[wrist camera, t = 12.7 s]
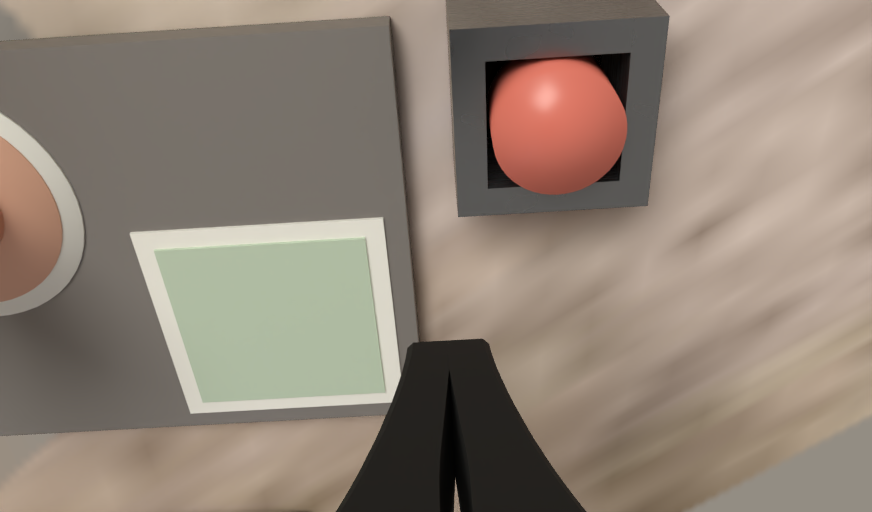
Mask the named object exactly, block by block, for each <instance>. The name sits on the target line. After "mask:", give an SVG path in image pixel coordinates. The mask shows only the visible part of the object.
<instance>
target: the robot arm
mask: <svg viewBox="0 0 872 512" xmlns="http://www.w3.org/2000/svg"><path fill="white" fill-rule="evenodd" d="M455 478H456V484H457V491H458V497H459V504H460V511H461V512H586V511H585V510H584V508H583V507H582V506H581V505H580V503H579V502H578V501H577V499H576V498H575V497H574V496H573V494H572V493H571V492H570V490H569V489H568V488H567V486H566V485H565V484H564V482H563V481H562V480H561V478H560V477H559V476H558V474H557V473H556V471H555V470H554V468H553V467H552V466H551V464H550V463H549V461H548V460H547V458H546V457H545V455H544V453H543V452H542V450H541V449H540V447H539V446H538V444H537V443H536V441H535V440H534V438H533V436H532V435H531V433H530V431H529V430H528V428H527V426H526V424H525V423H524V421H523V419H522V417H521V416H520V414H519V412H518V410H517V409H516V407H515V405H514V403H513V401H512V399H511V397H510V395H509V393H508V391H507V389H506V387H505V385H504V383H503V381H502V379H501V376H500V374H499V372H498V369H497V367H496V364H495V362H494V359H493V356H492V353H491V350H490V346H489V343H487V342H486V341H485V340H484V339H469V340H451V341H432V342H413V343H412V344H411V345H410V346H409V347H408V348H407V353H406V359H405V363H404V367H403V370H402V374H401V377H400V380H399V383H398V386H397V389H396V392H395V395H394V397H393V400H392V403H391V405H390V407H389V410H388V412H387V415H386V417H385V419H384V422H383V424H382V427H381V429H380V431H379V433H378V436H377V438H376V440H375V442H374V444H373V446H372V448H371V450H370V452H369V454H368V456H367V458H366V460H365V462H364V464H363V466H362V468H361V470H360V471H359V473H358V475H357V477H356V479H355V481H354V482H353V484H352V486H351V488H350V489H349V491H348V493H347V494H346V496H345V498H344V499H343V501H342V503H341V504H340V506H339V508H338V509H337V511H336V512H454V493H455Z"/></svg>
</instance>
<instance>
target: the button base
mask: <svg viewBox="0 0 872 512" xmlns="http://www.w3.org/2000/svg"><path fill="white" fill-rule="evenodd" d="M446 16H447V36H448V56H449V76H450V96H451V116H452V136H453V156H454V172H455V184H456V196H457V208H458V217H467V216H484V215H501V214H518V213H535V212H551V211H568V210H585V209H602V208H619V207H636V206H648V197H649V188H650V180H651V171H652V162H653V154H654V145H655V136H656V128H657V119H658V110H659V102H660V93H661V84H662V76H663V67H664V58H665V50H666V41H667V32H668V24H669V15H668V14H667V13H666V12H665V10H664V9H663V8H662V7H661V6H660V5H659V4H658V3H657V2H656V0H446ZM599 54H602V64H601V67H602V69H603V70H604V72H605V74H606V76H607V77H608V79H609V81H610V83H611V85H612V86H613V88H614V90H615V92H616V94H617V95H618V97H619V99H620V101H621V103H622V105H623V107H624V110H625V113H626V118H627V136H626V141H625V144H624V148H623V150H622V152H621V154H620V156H619V158H618V160H617V161H616V163H615V164H614V165H613V167H612V168H611V169H610V170H609V171H608V172H607V173H606V174H605V175H604V176H603V177H601V178H600V179H599V180H598V181H596V182H595V183H593V184H591V185H590V186H587V187H585V188H583V189H581V190H578V191H575V192H571V193H567V194H559V195H548V194H540V193H536V192H532V191H530V190H527V189H525V188H523V187H521V186H519V185H518V184H516V183H515V182H513V181H512V180H511V179H510V178H509V177H508V176H507V175H506V174H505V173H504V171H503V170H502V169H501V167H500V165H499V164H498V161H497V159H496V156H495V153H494V148H493V143H492V138H487V129H486V84H485V62H487V61H503V60H519V59H535V58H551V57H567V56H583V55H599Z"/></svg>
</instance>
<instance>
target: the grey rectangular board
mask: <svg viewBox="0 0 872 512" xmlns="http://www.w3.org/2000/svg"><path fill="white" fill-rule="evenodd" d="M0 209H1V212H2V215H3V218H4V235H3V239H2V241H1V243H0V436H9V435H28V434H46V433H65V432H83V431H101V430H119V429H137V428H156V427H174V426H192V425H210V424H229V423H247V422H265V421H283V420H302V419H320V418H338V417H356V416H374V415H387V412H388V410H389V407H390V405H391V403H392V400H393V397H394V395H395V392H396V389H397V386H398V383H399V380H400V377H401V374H402V370H403V367H404V363H405V359H406V353H407V348H408V347H409V346H410V345H411V344H412V343H413V342H420V340H419V329H418V318H417V307H416V296H415V286H414V275H413V264H412V253H411V242H410V231H409V220H408V209H407V199H406V188H405V177H404V166H403V155H402V144H401V133H400V123H399V112H398V101H397V90H396V79H395V68H394V57H393V47H392V36H391V25H390V16H384V17H369V18H353V19H338V20H322V21H306V22H291V23H275V24H259V25H244V26H228V27H212V28H197V29H181V30H165V31H150V32H134V33H119V34H103V35H87V36H72V37H56V38H40V39H25V40H9V41H0Z"/></svg>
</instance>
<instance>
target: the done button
mask: <svg viewBox="0 0 872 512" xmlns="http://www.w3.org/2000/svg"><path fill="white" fill-rule="evenodd" d="M487 115H488V121H489V126H490V132H491V137H492V143H493V148H494V153H495V156H496V159H497V161H498V164H499V165H500V167H501V169H502V170H503V171H504V173H505V174H506V175H507V176H508V177H509V178H510V179H511V180H512V181H513V182H515V183H516V184H518V185H519V186H521V187H523V188H525V189H527V190H530V191H532V192H536V193H540V194H548V195H559V194H567V193H571V192H575V191H578V190H581V189H583V188H585V187H587V186H590V185H591V184H593V183H595V182H596V181H598V180H599V179H600V178H601V177H603V176H604V175H605V174H606V173H607V172H608V171H609V170H610V169H611V168H612V167H613V165H614V164H615V163H616V161H617V160H618V158H619V156H620V154H621V152H622V150H623V148H624V144H625V141H626V136H627V118H626V113H625V110H624V107H623V105H622V103H621V101H620V99H619V97H618V95H617V94H616V92H615V90H614V88H613V86H612V85H611V83H610V81H609V79H608V77H607V76H606V74H605V72H604V70H603V69H602V67H601V66H600V64H599V63H598V62H597V61H596V59H595V58H594V57H592V56H591V55H583V56H567V57H551V58H535V59H519V60H508V61H507V62H505V63H504V65H503V66H502V67H501V68H500V69H499V71H498V72H497V74H496V75H495V77H494V79H493V81H492V83H491V85H490V88H489V91H488V96H487Z"/></svg>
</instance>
